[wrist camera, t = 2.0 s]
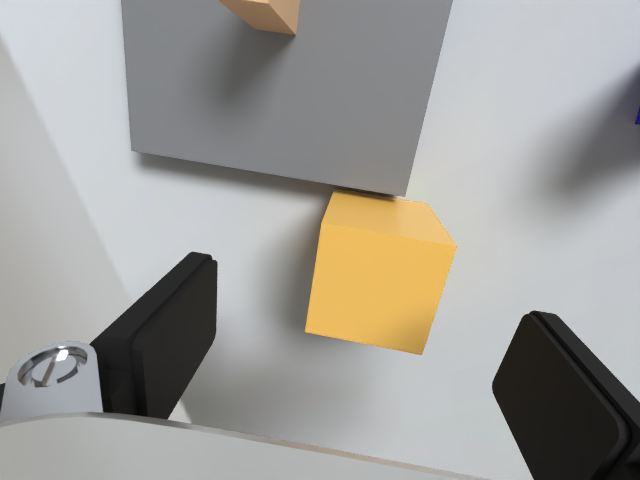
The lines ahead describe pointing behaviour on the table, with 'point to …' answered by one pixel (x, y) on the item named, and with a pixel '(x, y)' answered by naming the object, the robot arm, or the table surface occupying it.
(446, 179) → the table surface
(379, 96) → the plate
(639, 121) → the blue arch bracket
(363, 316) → the mustard yellow cube
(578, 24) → the table surface
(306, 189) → the table surface
